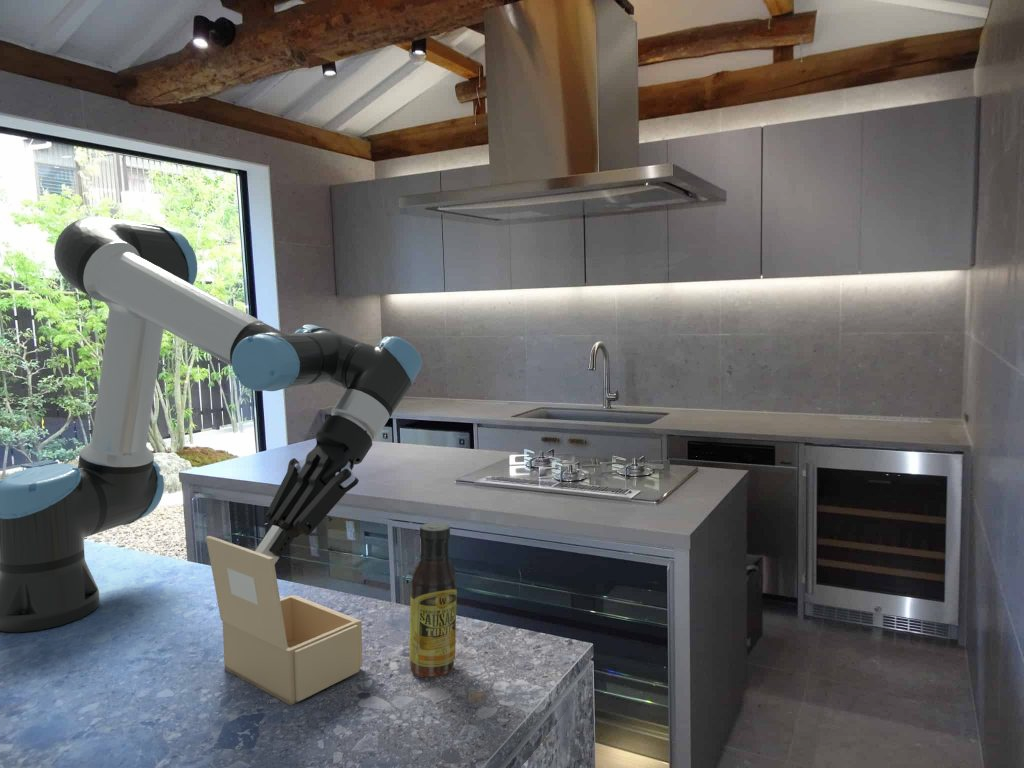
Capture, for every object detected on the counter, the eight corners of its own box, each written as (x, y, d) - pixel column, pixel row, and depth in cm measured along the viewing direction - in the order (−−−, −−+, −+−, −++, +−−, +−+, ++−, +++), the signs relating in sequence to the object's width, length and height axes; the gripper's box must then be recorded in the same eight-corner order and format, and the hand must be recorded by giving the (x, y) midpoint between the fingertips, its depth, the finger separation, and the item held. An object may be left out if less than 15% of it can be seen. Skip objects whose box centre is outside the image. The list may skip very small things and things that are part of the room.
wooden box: (222, 668, 99) (220, 618, 98) (294, 638, 108) (292, 592, 107) (293, 707, 89) (291, 652, 88) (366, 670, 98) (365, 620, 97)
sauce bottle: (418, 685, 94) (416, 536, 92) (403, 664, 99) (400, 523, 98) (464, 673, 97) (463, 529, 95) (447, 654, 102) (445, 517, 101)
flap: (220, 620, 97) (205, 537, 95) (224, 618, 98) (209, 535, 95) (283, 650, 88) (268, 559, 86) (288, 648, 89) (273, 557, 86)
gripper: (397, 449, 102) (302, 600, 91) (337, 439, 110) (243, 577, 99) (367, 416, 97) (263, 572, 86) (307, 409, 105) (205, 550, 94)
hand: (253, 574), depth 92 cm, fingers closed
